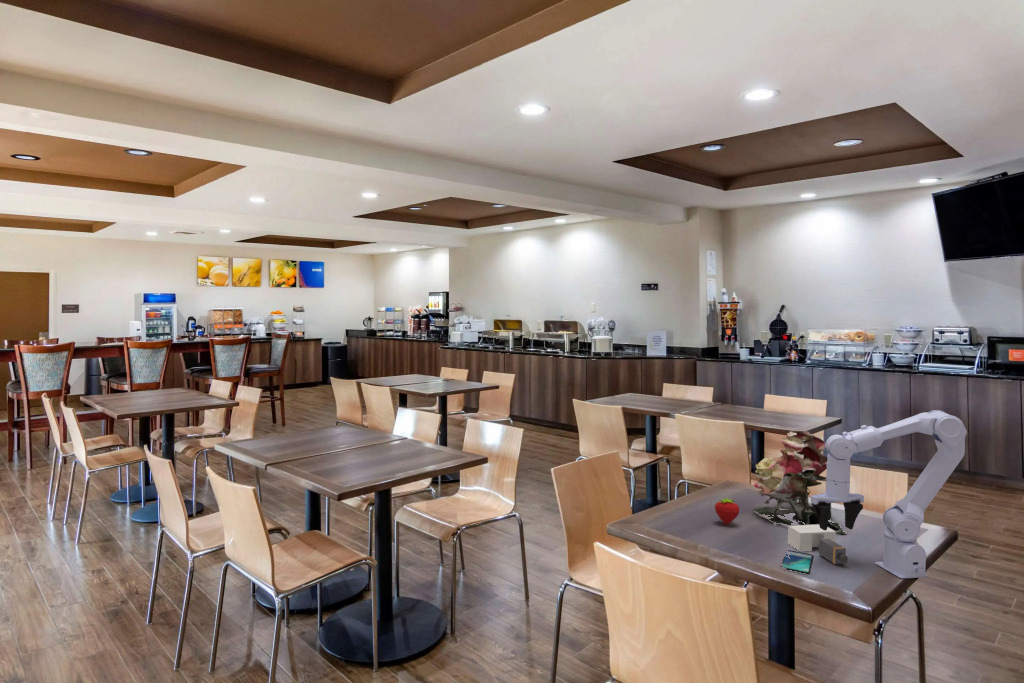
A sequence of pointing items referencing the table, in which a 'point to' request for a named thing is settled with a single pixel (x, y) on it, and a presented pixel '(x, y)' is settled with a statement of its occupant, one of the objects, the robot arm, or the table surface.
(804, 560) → the smartphone
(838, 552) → the plug
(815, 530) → the socket block
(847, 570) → the table surface
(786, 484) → the rose bouquet
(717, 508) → the strawberry
